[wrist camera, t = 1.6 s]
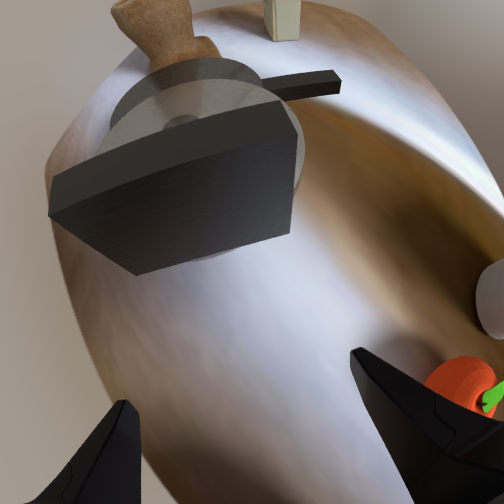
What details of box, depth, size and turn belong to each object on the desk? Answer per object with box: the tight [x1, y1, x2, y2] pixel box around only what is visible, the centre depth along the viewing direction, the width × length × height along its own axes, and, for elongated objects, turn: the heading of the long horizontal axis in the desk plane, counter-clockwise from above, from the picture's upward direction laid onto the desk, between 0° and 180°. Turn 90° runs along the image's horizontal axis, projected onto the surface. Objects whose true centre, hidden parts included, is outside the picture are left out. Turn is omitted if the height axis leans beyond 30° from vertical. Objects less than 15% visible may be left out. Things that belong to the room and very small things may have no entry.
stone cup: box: [111, 0, 222, 73], centre depth 27 cm, size 15×12×15 cm
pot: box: [110, 57, 342, 131], centre depth 24 cm, size 13×20×8 cm, turn 105°
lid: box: [48, 79, 305, 276], centre depth 14 cm, size 14×14×8 cm
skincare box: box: [263, 0, 301, 41], centre depth 30 cm, size 6×4×12 cm
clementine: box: [424, 356, 504, 418], centre depth 15 cm, size 8×7×7 cm
